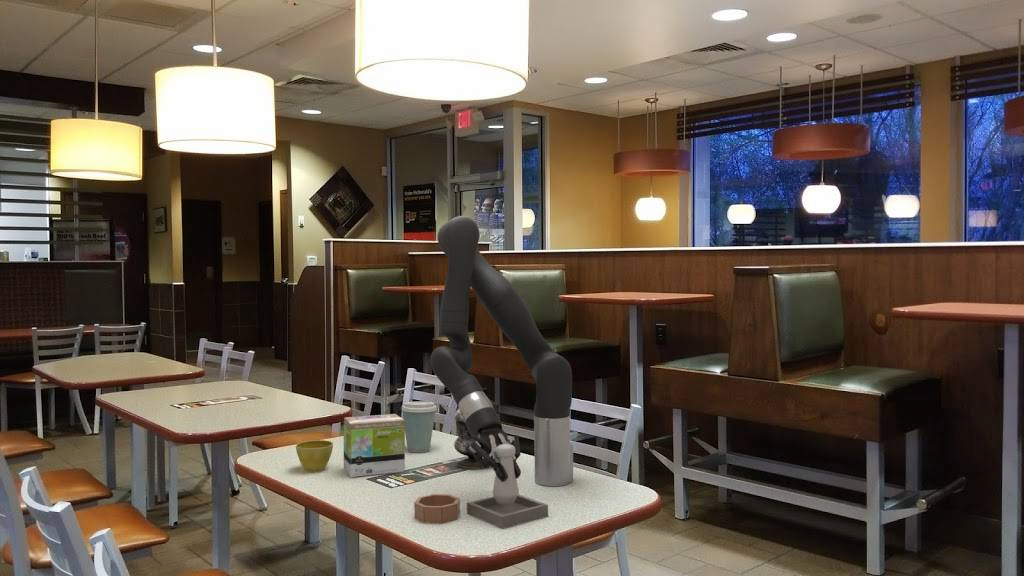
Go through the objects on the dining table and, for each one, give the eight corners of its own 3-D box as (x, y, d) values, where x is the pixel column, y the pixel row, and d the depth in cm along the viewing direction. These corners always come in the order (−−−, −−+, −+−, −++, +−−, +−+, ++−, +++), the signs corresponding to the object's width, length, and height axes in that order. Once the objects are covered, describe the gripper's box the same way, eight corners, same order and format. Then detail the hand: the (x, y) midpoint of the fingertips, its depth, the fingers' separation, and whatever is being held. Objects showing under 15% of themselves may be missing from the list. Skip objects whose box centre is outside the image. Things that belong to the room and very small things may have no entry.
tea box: (350, 478, 208) (350, 423, 208) (343, 469, 217) (342, 416, 217) (405, 472, 214) (405, 418, 214) (396, 463, 223) (395, 412, 223)
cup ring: (443, 506, 183) (443, 491, 183) (467, 516, 175) (467, 501, 175) (408, 515, 177) (407, 499, 177) (431, 526, 169) (430, 510, 169)
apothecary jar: (492, 471, 214) (491, 405, 213) (449, 469, 216) (448, 404, 215) (500, 460, 226) (499, 398, 225) (460, 458, 228) (459, 397, 227)
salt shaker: (515, 507, 173) (515, 448, 173) (490, 505, 174) (490, 447, 174) (520, 499, 179) (520, 442, 178) (496, 497, 180) (496, 441, 179)
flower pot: (337, 471, 215) (336, 445, 215) (300, 476, 211) (299, 449, 211) (328, 463, 224) (328, 438, 224) (293, 467, 220) (292, 442, 220)
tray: (511, 502, 186) (511, 491, 186) (548, 515, 175) (547, 504, 175) (467, 513, 178) (466, 502, 177) (502, 528, 167) (502, 516, 167)
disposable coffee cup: (402, 447, 243) (401, 399, 243) (437, 445, 245) (436, 398, 244) (401, 455, 233) (400, 405, 232) (437, 454, 234) (437, 404, 233)
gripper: (461, 409, 177) (493, 474, 168) (509, 402, 186) (543, 463, 177) (448, 428, 182) (479, 493, 172) (496, 421, 190) (528, 482, 181)
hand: (511, 478), depth 175 cm, fingers closed on salt shaker, 3 cm apart
